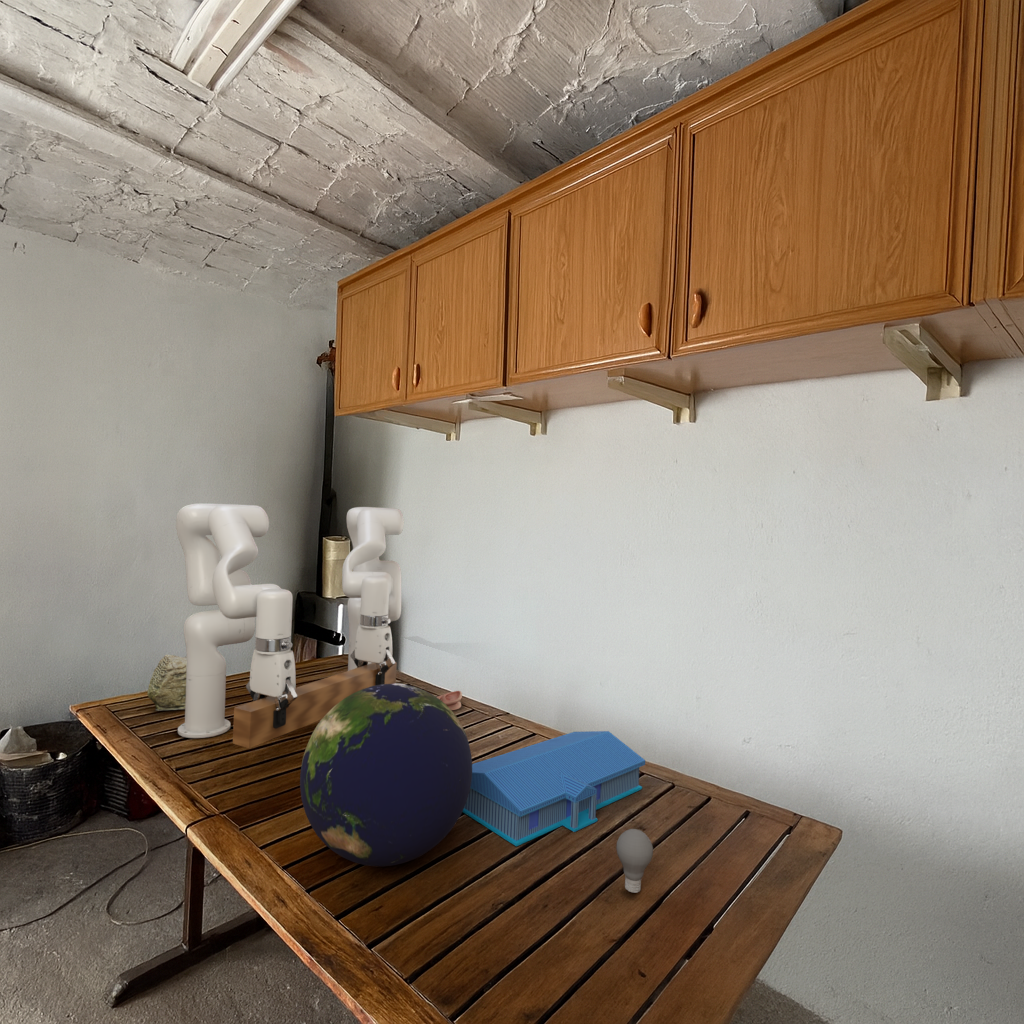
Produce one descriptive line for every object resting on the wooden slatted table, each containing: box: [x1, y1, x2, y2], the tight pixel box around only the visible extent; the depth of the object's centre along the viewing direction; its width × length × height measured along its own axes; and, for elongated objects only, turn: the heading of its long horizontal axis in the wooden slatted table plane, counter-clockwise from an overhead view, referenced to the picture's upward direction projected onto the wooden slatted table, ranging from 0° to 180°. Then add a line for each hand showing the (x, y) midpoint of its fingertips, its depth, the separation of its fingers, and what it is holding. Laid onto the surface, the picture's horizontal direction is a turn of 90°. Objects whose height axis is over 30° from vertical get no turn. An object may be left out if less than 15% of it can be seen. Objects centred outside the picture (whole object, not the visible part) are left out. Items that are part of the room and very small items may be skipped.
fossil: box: [147, 654, 187, 712], centre depth 185 cm, size 9×18×15 cm, turn 132°
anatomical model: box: [436, 690, 463, 711], centre depth 194 cm, size 13×4×12 cm
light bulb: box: [615, 828, 654, 894], centre depth 106 cm, size 6×6×10 cm
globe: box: [299, 682, 473, 868], centre depth 113 cm, size 30×30×30 cm
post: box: [232, 661, 398, 749], centre depth 160 cm, size 52×5×8 cm, turn 154°
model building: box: [462, 730, 646, 847], centre depth 137 cm, size 39×24×10 cm, turn 132°
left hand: (269, 723), depth 143 cm, fingers closed on post, 5 cm apart
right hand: (371, 685), depth 176 cm, fingers closed on post, 5 cm apart
